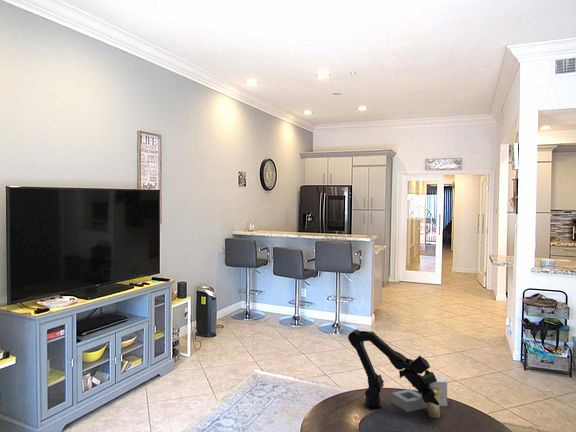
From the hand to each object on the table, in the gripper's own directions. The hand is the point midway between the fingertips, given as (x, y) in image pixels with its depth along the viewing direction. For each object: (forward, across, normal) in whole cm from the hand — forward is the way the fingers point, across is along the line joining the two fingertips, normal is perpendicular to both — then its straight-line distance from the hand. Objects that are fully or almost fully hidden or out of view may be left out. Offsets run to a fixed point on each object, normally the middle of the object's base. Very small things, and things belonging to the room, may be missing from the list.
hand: (437, 402), depth 198 cm
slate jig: (-4, +10, +13) cm, 17 cm away
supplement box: (+8, +15, +2) cm, 17 cm away
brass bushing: (+4, 0, +6) cm, 7 cm away
